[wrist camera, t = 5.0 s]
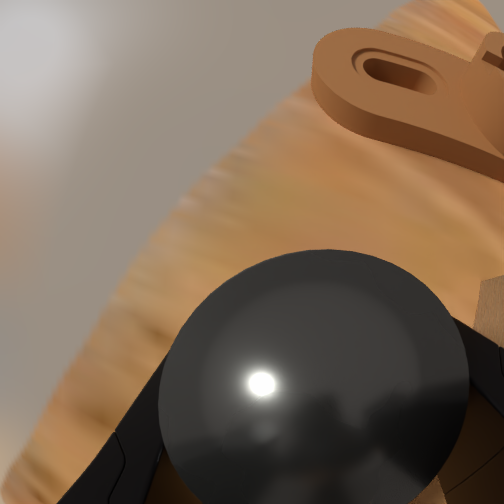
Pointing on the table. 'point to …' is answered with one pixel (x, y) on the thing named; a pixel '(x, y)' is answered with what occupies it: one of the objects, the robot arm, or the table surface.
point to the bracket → (415, 95)
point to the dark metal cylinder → (314, 385)
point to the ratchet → (491, 310)
